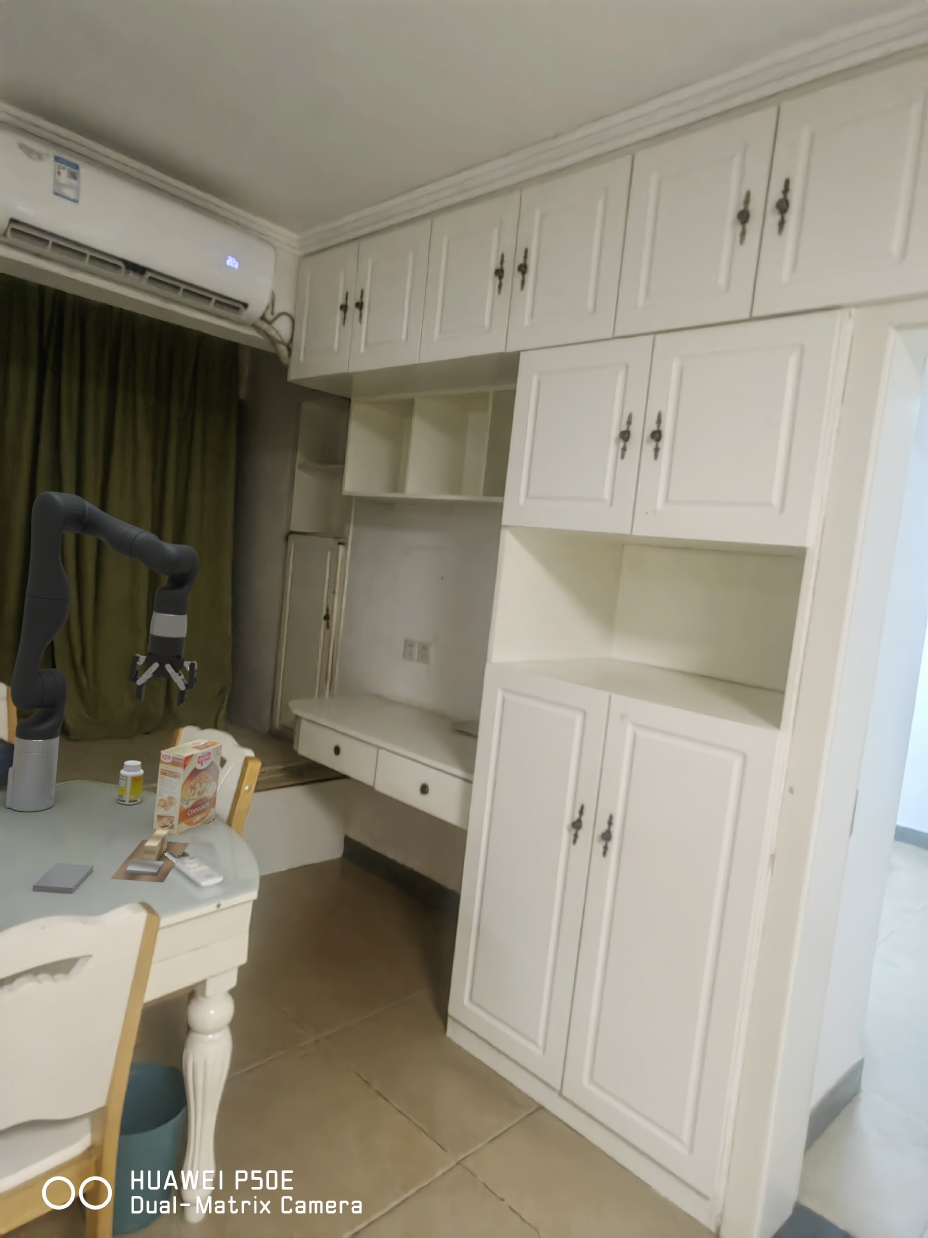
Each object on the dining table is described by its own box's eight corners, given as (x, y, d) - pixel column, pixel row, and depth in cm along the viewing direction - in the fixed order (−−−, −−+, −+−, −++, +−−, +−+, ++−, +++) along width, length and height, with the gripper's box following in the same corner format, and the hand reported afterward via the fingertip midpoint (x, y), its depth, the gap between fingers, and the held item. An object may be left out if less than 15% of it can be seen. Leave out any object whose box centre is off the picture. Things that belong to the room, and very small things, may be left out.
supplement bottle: (144, 799, 194) (147, 760, 193) (136, 806, 188) (140, 766, 187) (121, 797, 193) (125, 758, 192) (113, 804, 188) (117, 764, 187)
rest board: (110, 882, 147) (110, 878, 147) (142, 843, 167) (142, 839, 167) (162, 886, 148) (162, 882, 148) (188, 846, 168) (189, 843, 168)
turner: (156, 875, 151) (158, 856, 150) (125, 873, 150) (127, 854, 150) (175, 848, 165) (177, 830, 164) (147, 846, 164) (148, 828, 164)
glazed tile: (55, 874, 149) (32, 897, 139) (56, 863, 149) (32, 885, 139) (92, 876, 150) (71, 899, 140) (93, 865, 149) (72, 888, 140)
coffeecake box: (177, 839, 172) (185, 756, 170) (151, 832, 173) (158, 750, 172) (215, 819, 186) (223, 743, 184) (191, 813, 188) (198, 737, 186)
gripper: (129, 630, 164) (122, 703, 165) (196, 639, 165) (188, 710, 167) (141, 626, 171) (133, 696, 173) (204, 634, 173) (197, 703, 174)
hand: (160, 703), depth 170 cm, fingers open, 8 cm apart
